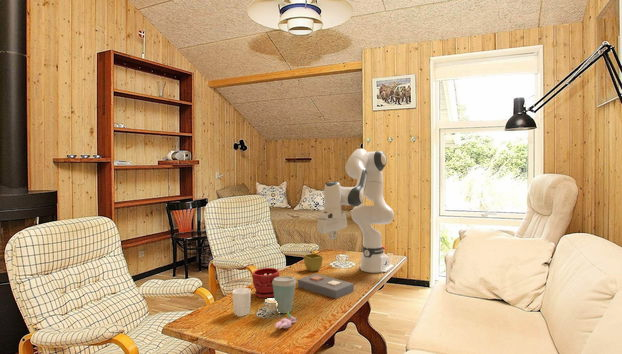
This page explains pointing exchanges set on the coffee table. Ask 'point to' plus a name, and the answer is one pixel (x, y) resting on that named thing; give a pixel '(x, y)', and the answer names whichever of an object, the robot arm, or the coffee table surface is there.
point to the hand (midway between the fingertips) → (333, 239)
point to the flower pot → (313, 262)
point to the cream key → (334, 283)
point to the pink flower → (286, 321)
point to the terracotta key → (316, 278)
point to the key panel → (324, 291)
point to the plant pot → (264, 281)
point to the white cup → (241, 301)
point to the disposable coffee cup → (284, 292)
